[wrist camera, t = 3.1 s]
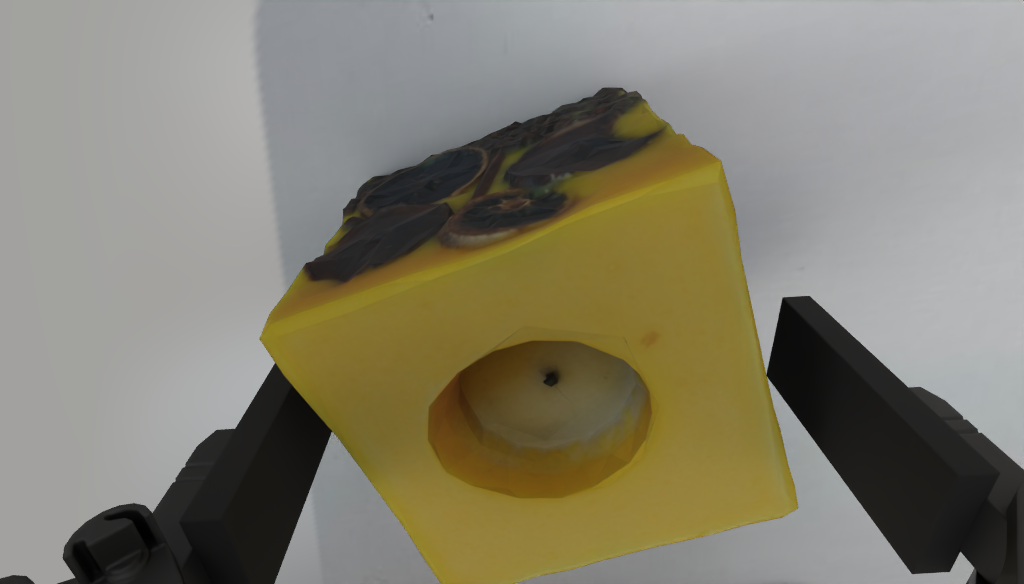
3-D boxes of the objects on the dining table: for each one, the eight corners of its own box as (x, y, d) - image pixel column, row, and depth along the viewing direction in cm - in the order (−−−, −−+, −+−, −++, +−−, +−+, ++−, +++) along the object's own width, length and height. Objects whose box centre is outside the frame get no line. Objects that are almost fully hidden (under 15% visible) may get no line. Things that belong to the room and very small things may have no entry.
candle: (688, 316, 23) (813, 516, 14) (466, 389, 24) (453, 614, 15) (624, 73, 18) (751, 146, 9) (353, 182, 19) (243, 336, 11)
